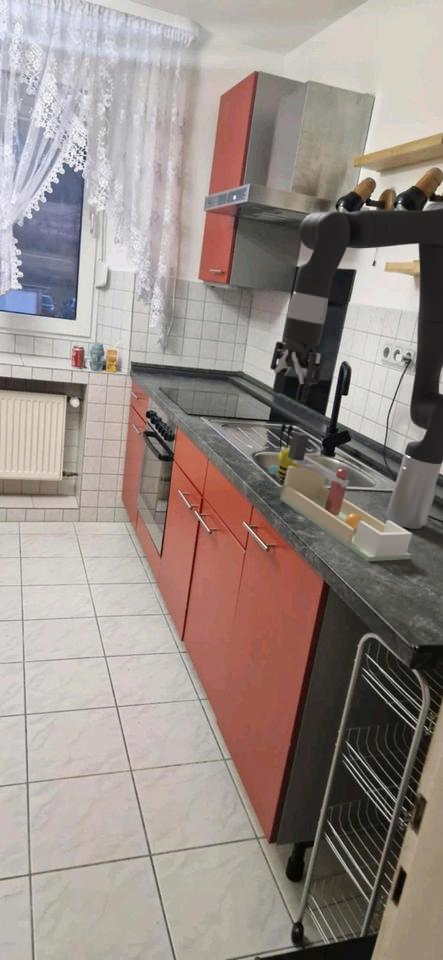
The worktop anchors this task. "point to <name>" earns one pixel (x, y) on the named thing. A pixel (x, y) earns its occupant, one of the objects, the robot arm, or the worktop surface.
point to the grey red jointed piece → (320, 472)
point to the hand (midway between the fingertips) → (288, 397)
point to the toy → (283, 457)
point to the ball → (353, 520)
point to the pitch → (343, 518)
